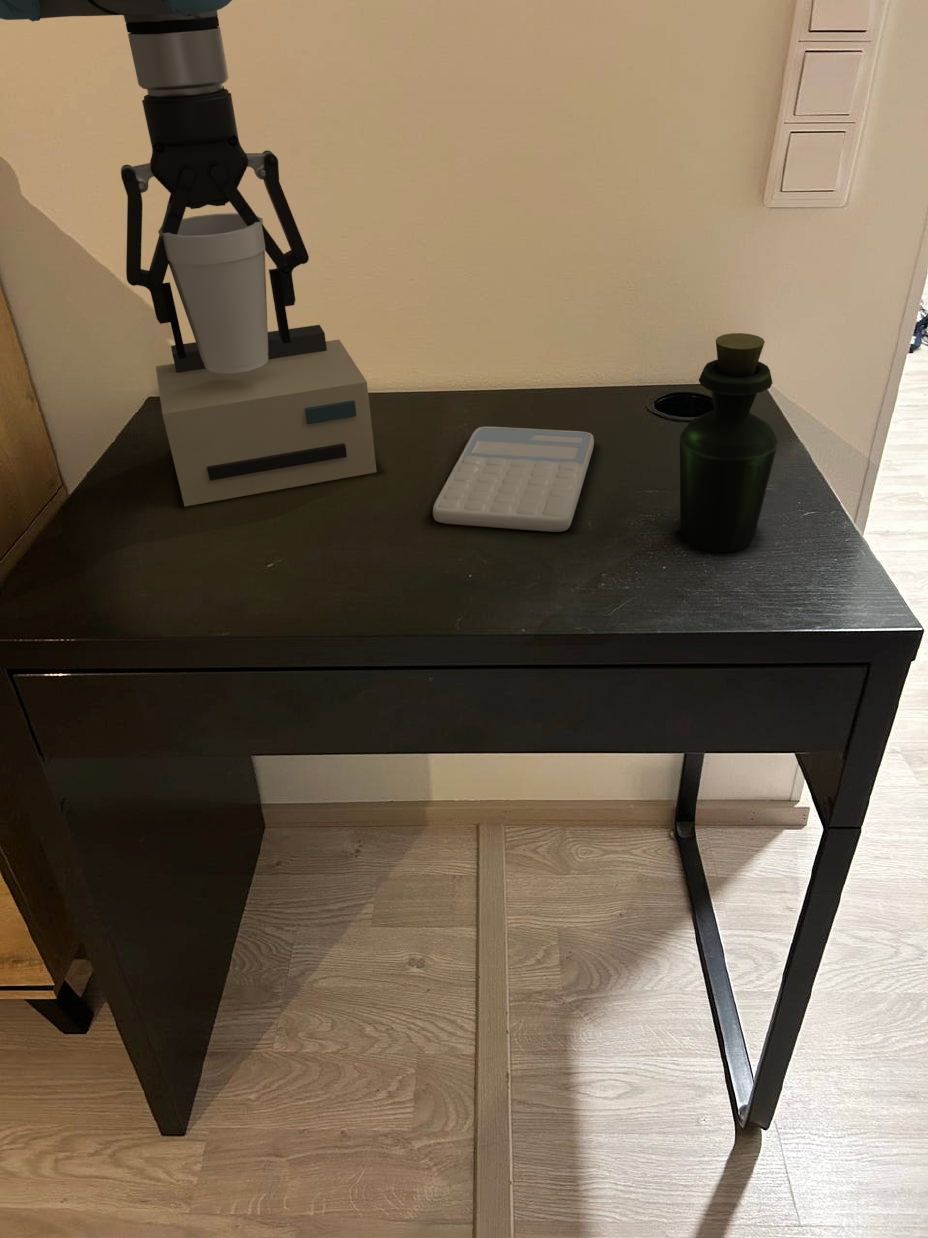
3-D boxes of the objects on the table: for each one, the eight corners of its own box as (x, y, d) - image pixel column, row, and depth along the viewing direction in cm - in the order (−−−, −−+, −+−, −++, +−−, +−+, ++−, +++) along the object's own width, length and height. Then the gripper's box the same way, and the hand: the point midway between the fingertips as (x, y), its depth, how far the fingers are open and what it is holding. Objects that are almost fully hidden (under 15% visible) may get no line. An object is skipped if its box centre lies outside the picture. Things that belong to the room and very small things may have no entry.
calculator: (430, 524, 91) (428, 507, 90) (476, 438, 107) (475, 422, 106) (569, 535, 88) (569, 517, 87) (595, 444, 104) (596, 428, 103)
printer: (184, 508, 96) (157, 394, 89) (176, 452, 108) (151, 347, 101) (377, 473, 101) (365, 363, 94) (349, 423, 112) (337, 321, 105)
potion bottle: (763, 517, 89) (791, 326, 79) (763, 562, 83) (794, 360, 72) (674, 511, 91) (691, 322, 81) (668, 554, 85) (685, 356, 74)
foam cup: (303, 354, 96) (283, 217, 89) (239, 385, 90) (212, 240, 83) (234, 341, 101) (210, 210, 93) (169, 369, 94) (137, 231, 87)
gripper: (306, 74, 87) (336, 319, 100) (51, 96, 82) (117, 351, 95) (320, 82, 81) (351, 341, 94) (47, 105, 76) (118, 376, 89)
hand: (233, 346), depth 94 cm, fingers closed on foam cup, 9 cm apart
